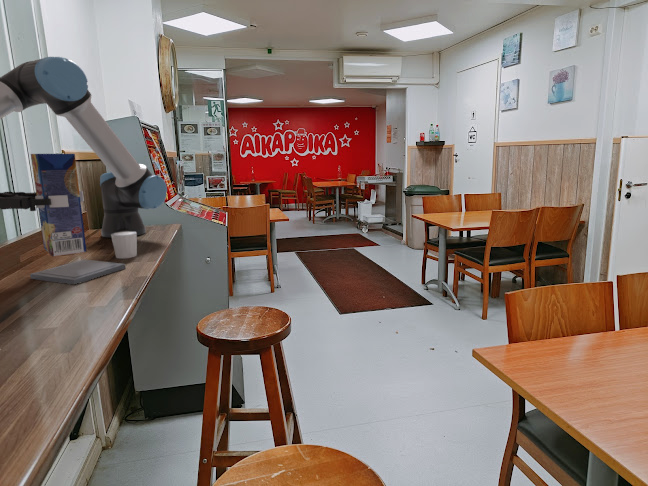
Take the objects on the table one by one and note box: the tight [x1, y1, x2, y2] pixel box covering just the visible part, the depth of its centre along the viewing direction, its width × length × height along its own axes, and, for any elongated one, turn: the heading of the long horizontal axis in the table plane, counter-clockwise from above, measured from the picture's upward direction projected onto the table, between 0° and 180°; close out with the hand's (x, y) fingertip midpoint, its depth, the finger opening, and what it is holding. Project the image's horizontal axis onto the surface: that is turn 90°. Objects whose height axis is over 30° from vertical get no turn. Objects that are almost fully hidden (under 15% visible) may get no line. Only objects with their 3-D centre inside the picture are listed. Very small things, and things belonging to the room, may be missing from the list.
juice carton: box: [30, 153, 88, 257], centre depth 105 cm, size 12×8×24 cm, turn 40°
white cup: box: [111, 231, 138, 260], centre depth 125 cm, size 7×7×7 cm
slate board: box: [29, 259, 126, 285], centre depth 108 cm, size 15×15×1 cm
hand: (75, 198), depth 106 cm, fingers closed on juice carton, 11 cm apart
